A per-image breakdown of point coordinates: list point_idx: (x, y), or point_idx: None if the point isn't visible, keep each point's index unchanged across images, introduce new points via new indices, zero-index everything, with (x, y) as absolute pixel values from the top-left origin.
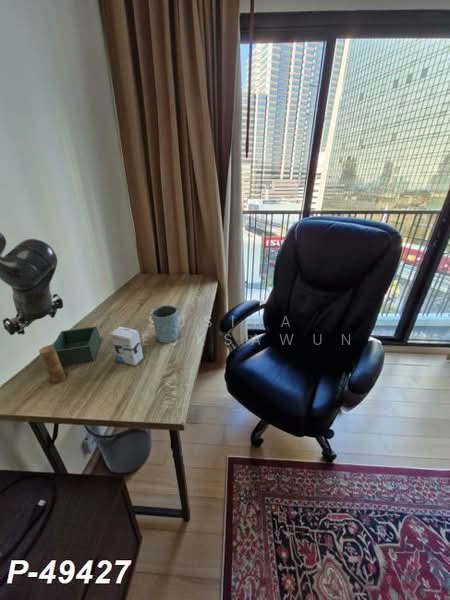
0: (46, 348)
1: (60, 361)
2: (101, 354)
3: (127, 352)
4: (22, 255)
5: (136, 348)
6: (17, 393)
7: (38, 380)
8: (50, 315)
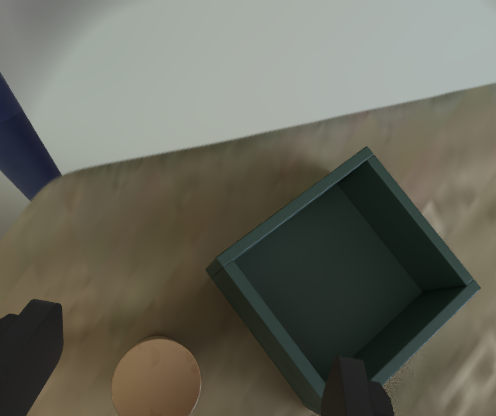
0: (161, 374)
1: (228, 293)
2: None
3: None
4: None
5: None
6: (26, 276)
7: (116, 285)
8: (328, 405)
